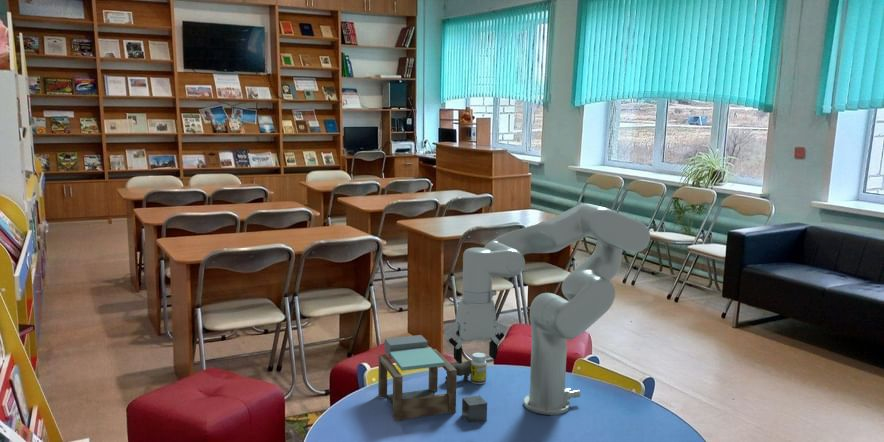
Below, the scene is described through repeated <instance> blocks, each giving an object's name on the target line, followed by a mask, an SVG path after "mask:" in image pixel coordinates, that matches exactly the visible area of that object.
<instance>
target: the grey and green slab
mask: <svg viewBox="0 0 884 442" xmlns="http://www.w3.org/2000/svg"><path fill="white" fill-rule="evenodd" d="M428 343H429V342H428V340H427V339H426V338H425V337H424V336H423V335H422V334H417V335H408V336H398V337H397V336H396V337H387V338H386V337H385V338H384V354H386V355H387V357H388V358H389V359H390V360H393V362H394V363H395V364H396V365H397V367H398V368H399V369H400V370H401V371H402V372H403V371H411V370H412V371H413V370H421V369H429V368H431V367H438V368H439V367H442V366H445V362H444V361H443V360H442V359H441V358H440V357H439V356H438V355H437V354H436V353H435V352H434V351H433V350H432V349H433V348H432V346H428V345H429V344H428Z"/></svg>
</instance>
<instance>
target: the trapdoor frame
mask: <svg viewBox="0 0 884 442" xmlns="http://www.w3.org/2000/svg"><path fill="white" fill-rule="evenodd" d="M432 350H433V351H434V352H435V353H436V354H437V355H438V356H439V357H440V358H441V359H442V360H443V361H444V362H445V366H441V367H442V368H443V369H444V370H445V372H446V371H447V373H446V376H447V383H446V393H441V394H435V393H434V392H437V391H438V379H439V378H438V377H439V375H438V374H439V370H438V369H439V367H431V368H428V389H423V390H415V391H414V390H413V391H408V392H407V391H405V392H403V377H404V376H403V375H402V374H401V372H400V371H399V370H398V368H397V367H396V366H395V365H394V363H393V362H392V361H391V359H390V358H389V357H388V355H387V354H386V353H384V354H378V377H377V378H378V380H377V381H378V390H377V391H378V393H377V394H378V397H379V398H380V399H383V398H387V399H388V400H389V402H390V403H391V405H392V419H393V420H394V422H399V421H403V420H406V419H407V420H408V419H413V418H421V417H429V416H435V415H443V414H454V413H457V412H456V411H457V370H456V369H455V368H454V367H453V366H452V365H451V364H450V363H451V362H449V360H447V359H446V357H444V355H442V354H441V353H440V351H439V350H437V348H432ZM388 373H389V374H390V376H391V378H392V393H391V394H388Z"/></svg>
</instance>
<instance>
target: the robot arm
mask: <svg viewBox="0 0 884 442" xmlns="http://www.w3.org/2000/svg"><path fill="white" fill-rule="evenodd" d="M586 237H591V238H592V239H593V238H594V239H596V246H595V249H594V251H593V253H591V255H590V256H589V257H587V258H586V260H584V261H583V263H581V264H580V265H578V267H576V268H575V269H573V271H571V272H570V273H569V274H568V275H567V276H566V277H565V278H564V279H563V281H562V284H561V292H562V294H563V296H564V297H565V298H564V297H562V296H560V295H557V294H555V293H551V292H544V293H540V294H538V295H537V296H535V298H534V299H533V300H532V302H531V305H530V307H529V320H530V322H529V323H530V329H531V330H530V331H531V349H530V350H531V351H530V352H531V354H530V375H529V376H530V377H529V394H527V395H526V396H525V397H524V398H523V405H524V407H525V408H526V409H527V410H529V411H530V412H532V413H536V414H539V415H548V416H550V415H551V416H555V415H562V414H563V413H564V414H565V413H566V412H568V411H569V410H570V409H571V408H570V405H571V404H570V401H569V400H571V399H572V398H573V399H574V398H580V397H581V391H580V389H575V390H574V389H573V390H572V388H570V387H568V388H566V375H567V374H566V371H567V367H566V366H567V353H568V341H567V340H572V339H576V338H577V337H579V336H581V335H582V334H583V333H585V332H586V331H587V330H588V329H590V327H591V326H592V325H594V324H595V323H596V322H597V321H598V320H599V319H601V318H602V317H603V316H604V314H606V313H607V312H608V311H609V310H610V308H611V307H612V305H613V304H614V301H615V299H616V298H615V297H616V289H615V287H614V284H613V283H612V282H611V281H612V280H613V279H614V278H615V276H617V274H618V273H619V271H620V269H621V265H622V258H623V257H622V256H623V251H626V252H627V253H628V252H629V253H631V254H633V253H640V252H642V251H644V250H645V249H646V248H647V246H649V244H650V240H651V233H650V230H649V228H648V227H647V225H646V224H645V223H643V221H640V220H637V219H634V218H632V217H629V216H626V215H624V214H622V213H619V212H617V211H615V210H613V209H610V208H608V207H604V206H599V205H595V204H591V203H581V204H578V205H575V206H573V207H571V208H569V209H568V210H566V211H564V212H561V213H559V214H558V215H555V216H553V217H552V218H549V219H548V220H546V221H544V222H543V221H542V222H541V223H537V224H533V225H528V226H526V227H522V228H518V229H514V230H512V231H509V232H506V233H505V234H502V235H500V236H498V237H496V238H495V239H492V240H490V241H489V242H488V243H487V244H485V245H484V247H470V248H469V247H468V248H467V249H465V250H464V252H463V256H462V293H461V294H462V299H460V300H459V301H458V305H457V309H456V315H455V323H454V325H452V326H451V327H449V328H447V329H446V330H445V331H444V332H443V334H444V336H445V338H446V339H447V341H448V342H449V344H451V345H452V346H453V359H454V360H455V362H458V363H459V364H461V363H462V362H463V349H462V345H463V344H464V343H466V342H471V341H481V340H489V339H490V341H489V347H488V348H489V349H488V355H489V357H490V358H491V359H493V360H497V356H498V354H499V353H498V351H499V345H500V343H501V341H502V340H503V338H504V337H505V334H506V333H507V331H508V326H507V325H506V324H504V323H501V322H499V321H497V314H496V313H497V311H496V307H495V302H494V300H493V298H494V296H496V295H497V294H498V293H497V290H496V289H494V290H493V277H496V278H498V277H499V278H500V277H501V278H515V277H517V276H519V275H520V274H521V273H522V272H523V271H524V269H525V267H526V260H525V257H524V255H528V254H529V255H530V254H550V253H557V252H559V251H561V250H563V249H564V248H566V247H568V246H570V245H572V244H575V243H576V242H578V241H581V240H582V239H584V238H586ZM497 328H499V330H498V332H497ZM453 334H454V335H455V336H456V337H455V338H453Z"/></svg>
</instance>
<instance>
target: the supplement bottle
mask: <svg viewBox="0 0 884 442" xmlns="http://www.w3.org/2000/svg"><path fill="white" fill-rule="evenodd" d="M471 356H472V357H471V360H470V361H471V374H470V376H469V377H470V379H469V381H470V382H471V383H472V384H475V385H483V384H485V383H486V382H487V369H488V368H487V366H488V365H487V364H488V363H487V361H486V359H487V358H486V356H487V355H486V353H483V352H473V353H472V355H471Z"/></svg>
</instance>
